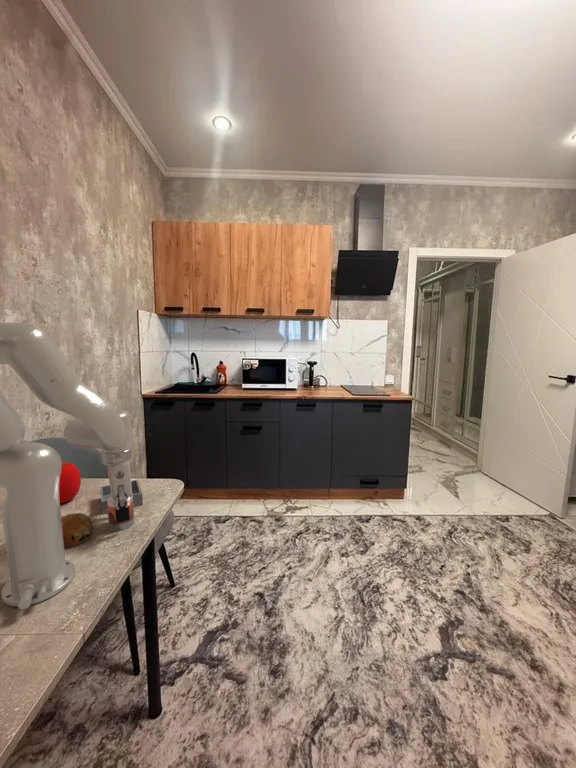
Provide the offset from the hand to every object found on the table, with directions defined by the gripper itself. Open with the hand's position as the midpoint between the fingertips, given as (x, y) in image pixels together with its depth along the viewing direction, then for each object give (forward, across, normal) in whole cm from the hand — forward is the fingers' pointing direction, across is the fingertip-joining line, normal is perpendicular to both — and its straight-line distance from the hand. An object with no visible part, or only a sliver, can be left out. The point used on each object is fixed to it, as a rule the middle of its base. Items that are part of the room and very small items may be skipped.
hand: (121, 512), depth 93 cm
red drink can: (+4, 0, 0) cm, 4 cm away
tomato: (+4, +24, +16) cm, 29 cm away
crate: (+4, +14, -1) cm, 14 cm away
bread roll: (+4, 0, +12) cm, 13 cm away
